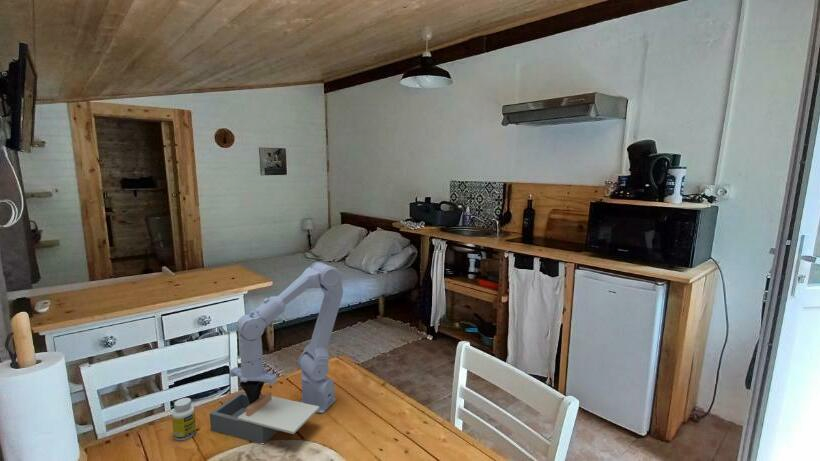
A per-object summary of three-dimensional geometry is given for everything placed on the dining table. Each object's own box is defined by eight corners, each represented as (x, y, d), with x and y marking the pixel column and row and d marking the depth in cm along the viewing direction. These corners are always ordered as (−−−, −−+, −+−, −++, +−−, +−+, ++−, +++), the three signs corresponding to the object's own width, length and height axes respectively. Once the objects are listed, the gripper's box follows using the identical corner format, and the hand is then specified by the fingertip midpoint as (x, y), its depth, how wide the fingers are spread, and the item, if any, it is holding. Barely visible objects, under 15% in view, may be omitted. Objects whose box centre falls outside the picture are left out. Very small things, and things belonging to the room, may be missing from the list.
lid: (319, 408, 114) (319, 399, 113) (293, 434, 102) (293, 423, 102) (267, 396, 120) (266, 387, 119) (237, 419, 109) (236, 410, 108)
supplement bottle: (186, 442, 107) (183, 408, 106) (169, 439, 109) (165, 406, 107) (200, 430, 113) (198, 397, 111) (184, 427, 114) (181, 395, 112)
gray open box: (291, 418, 118) (290, 402, 117) (263, 444, 107) (262, 427, 106) (242, 406, 124) (241, 391, 123) (210, 430, 113) (209, 413, 112)
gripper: (220, 360, 111) (223, 406, 113) (263, 368, 106) (265, 416, 108) (239, 349, 117) (242, 393, 119) (280, 357, 112) (282, 402, 114)
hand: (254, 403), depth 114 cm, fingers closed
